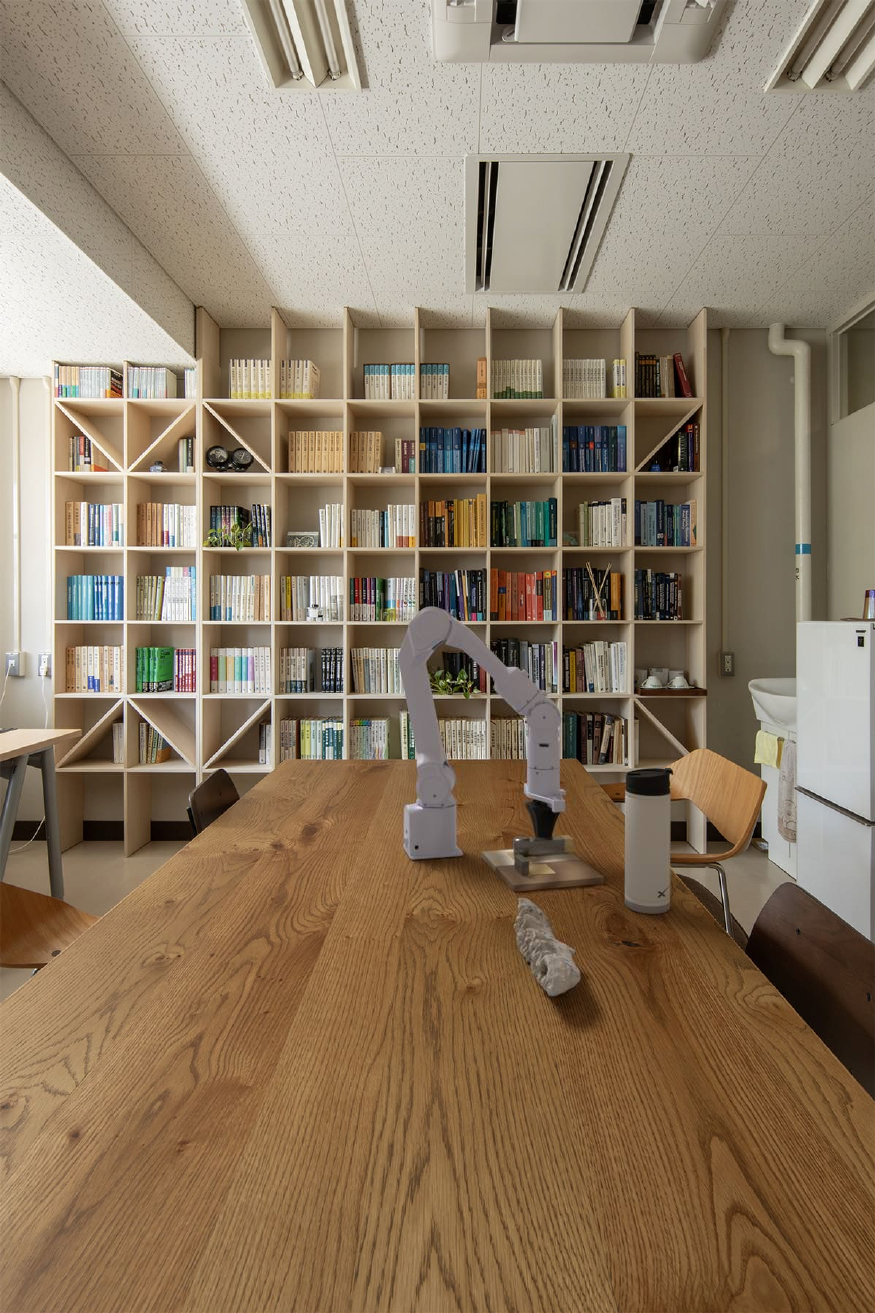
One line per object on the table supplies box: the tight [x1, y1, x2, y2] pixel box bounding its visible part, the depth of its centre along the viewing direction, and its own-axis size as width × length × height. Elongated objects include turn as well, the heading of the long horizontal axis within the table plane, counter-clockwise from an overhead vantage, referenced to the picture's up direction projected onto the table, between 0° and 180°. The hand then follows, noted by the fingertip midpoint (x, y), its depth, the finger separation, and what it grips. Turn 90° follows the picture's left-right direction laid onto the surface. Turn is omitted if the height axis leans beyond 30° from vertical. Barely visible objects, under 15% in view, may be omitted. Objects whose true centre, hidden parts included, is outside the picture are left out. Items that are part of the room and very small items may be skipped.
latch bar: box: [512, 834, 574, 857], centre depth 122 cm, size 10×3×3 cm, turn 103°
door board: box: [481, 848, 605, 893], centre depth 117 cm, size 15×17×3 cm
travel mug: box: [624, 767, 674, 915], centre depth 101 cm, size 6×7×20 cm
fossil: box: [513, 897, 581, 997], centre depth 83 cm, size 21×6×5 cm, turn 5°
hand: (543, 842), depth 124 cm, fingers closed
